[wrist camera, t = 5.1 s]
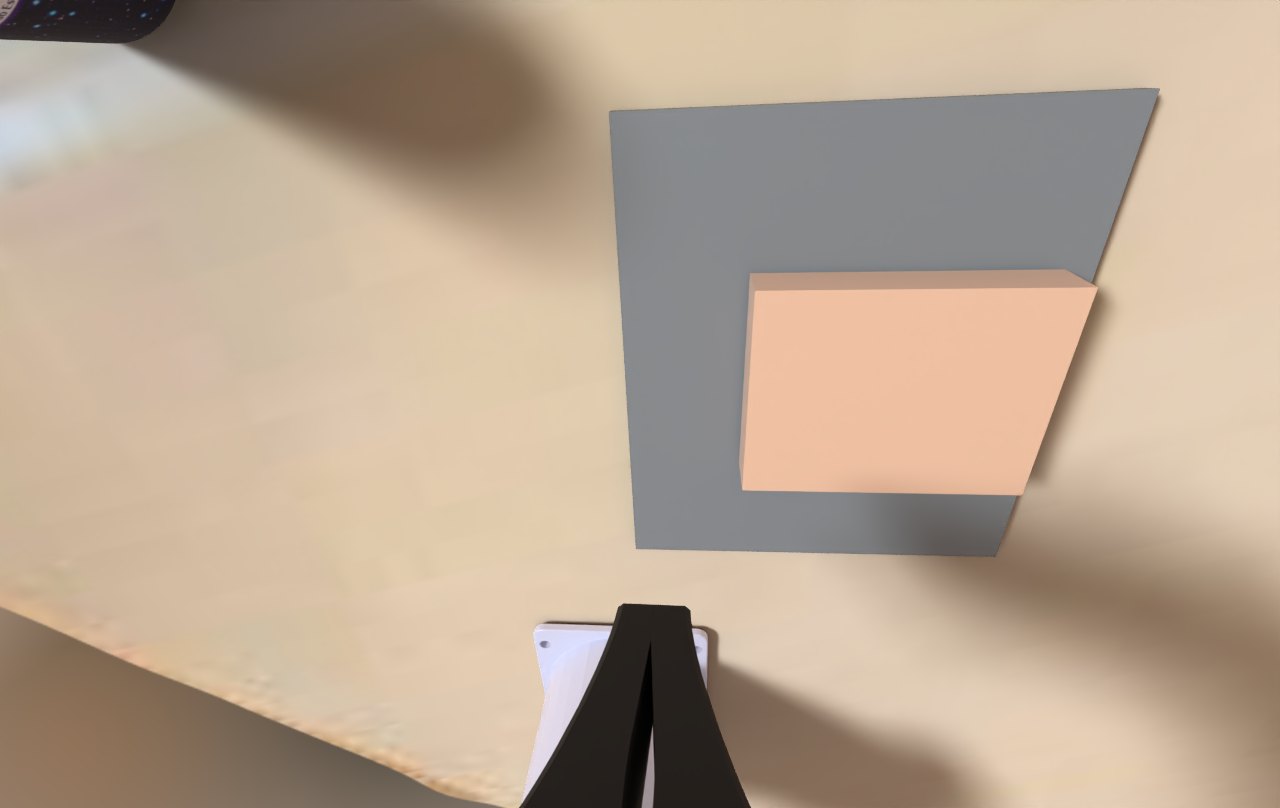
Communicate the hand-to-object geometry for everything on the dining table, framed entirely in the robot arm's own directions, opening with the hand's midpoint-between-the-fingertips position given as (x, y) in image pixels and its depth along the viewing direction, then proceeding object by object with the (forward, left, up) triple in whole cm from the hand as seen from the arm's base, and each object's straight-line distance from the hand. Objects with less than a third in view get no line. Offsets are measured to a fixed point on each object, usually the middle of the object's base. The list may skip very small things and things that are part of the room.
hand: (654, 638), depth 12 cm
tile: (+1, -3, -9) cm, 9 cm away
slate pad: (+1, -6, -10) cm, 12 cm away
